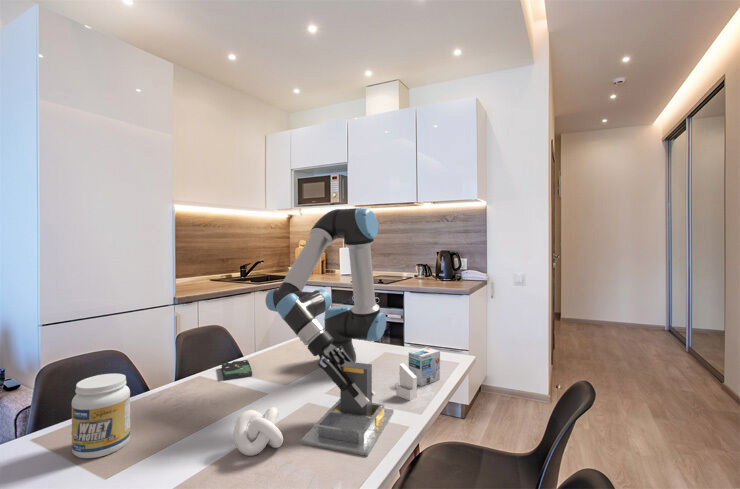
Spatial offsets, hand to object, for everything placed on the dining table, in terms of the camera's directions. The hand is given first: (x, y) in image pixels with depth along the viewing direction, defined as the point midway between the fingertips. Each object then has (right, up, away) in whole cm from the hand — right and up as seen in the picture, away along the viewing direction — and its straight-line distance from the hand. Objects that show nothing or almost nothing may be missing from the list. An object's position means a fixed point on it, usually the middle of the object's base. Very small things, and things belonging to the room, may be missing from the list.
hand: (368, 400), depth 110 cm
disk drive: (-52, -6, +41) cm, 67 cm away
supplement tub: (-67, -7, -13) cm, 69 cm away
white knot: (-27, -7, -12) cm, 30 cm away
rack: (-5, -6, -3) cm, 8 cm away
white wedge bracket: (+12, -6, +18) cm, 23 cm away
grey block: (-4, -4, +1) cm, 6 cm away
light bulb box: (+20, -6, +32) cm, 38 cm away
